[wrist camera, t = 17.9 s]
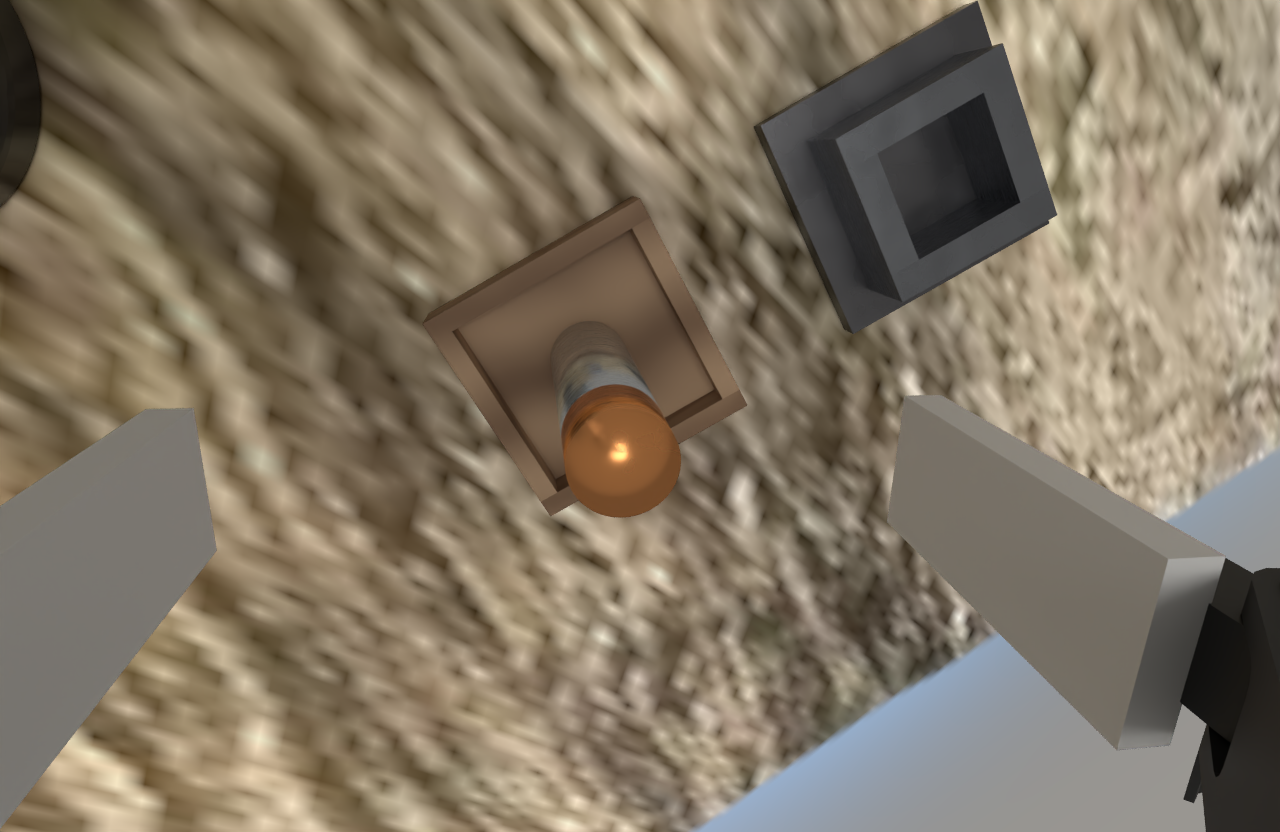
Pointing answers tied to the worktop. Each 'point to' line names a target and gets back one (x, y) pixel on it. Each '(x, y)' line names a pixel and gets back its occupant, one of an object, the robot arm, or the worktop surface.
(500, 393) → the tray
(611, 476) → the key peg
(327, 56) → the worktop surface
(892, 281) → the block
